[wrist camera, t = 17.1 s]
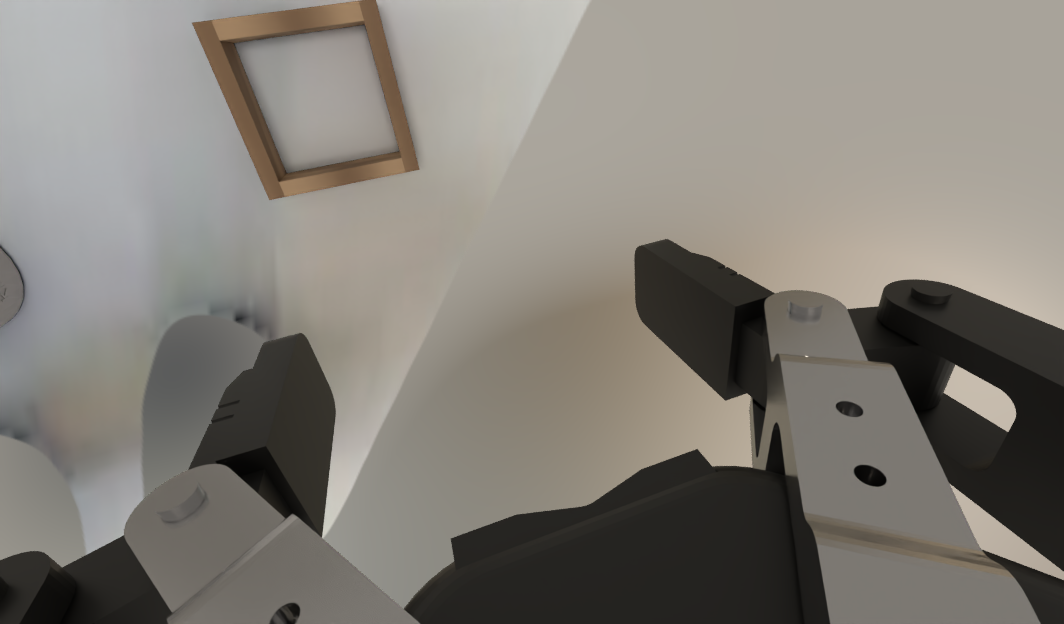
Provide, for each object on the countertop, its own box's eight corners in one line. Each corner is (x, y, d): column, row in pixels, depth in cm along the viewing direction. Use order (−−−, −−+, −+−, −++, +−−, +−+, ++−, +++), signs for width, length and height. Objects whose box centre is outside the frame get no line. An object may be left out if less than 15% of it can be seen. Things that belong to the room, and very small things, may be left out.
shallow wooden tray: (277, 189, 33) (269, 200, 31) (208, 26, 28) (192, 22, 26) (416, 162, 35) (419, 169, 33) (375, 4, 30) (375, -2, 27)
